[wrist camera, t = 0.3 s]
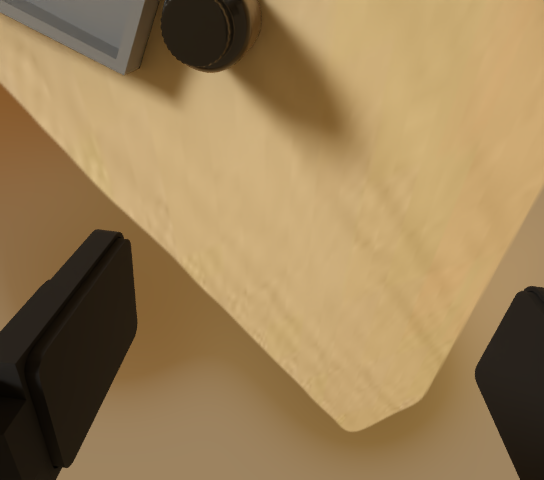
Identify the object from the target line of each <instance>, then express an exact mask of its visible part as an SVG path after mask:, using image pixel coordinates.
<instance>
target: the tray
mask: <svg viewBox="0 0 544 480" xmlns="http://www.w3.org/2000/svg"><path fill="white" fill-rule="evenodd" d="M158 4H159V0H0V12H1V13H2V14H4V15H6V16H8V17H10V18H12V19H14V20H16V21H18V22H20V23H22V24H24V25H26V26H28V27H30V28H32V29H34V30H36V31H38V32H40V33H42V34H44V35H46V36H48V37H50V38H52V39H53V40H55V41H57V42H59V43H61V44H63V45H65V46H67V47H69V48H71V49H73V50H75V51H77V52H79V53H81V54H83V55H85V56H87V57H89V58H91V59H93V60H95V61H97V62H99V63H101V64H103V65H104V66H106V67H108V68H110V69H112V70H114V71H116V72H118V73H120V74H122V75H126V74H128V73H130V72H132V71H135V70H137V69H139V68H140V65H141V61H142V58H143V54H144V51H145V48H146V44H147V41H148V38H149V34H150V31H151V27H152V24H153V21H154V17H155V14H156V10H157V7H158Z"/></svg>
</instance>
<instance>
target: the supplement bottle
mask: <svg viewBox="0 0 544 480" xmlns="http://www.w3.org/2000/svg"><path fill="white" fill-rule="evenodd" d="M261 20H262V16H261V8H260V4H259V1H258V0H165V2H164V6H163V12H162V18H161V30H162V36H163V38H164V42H165V44H166V45H167V48H168V49H169V50H170V51H171V53H172V55H173V56H175V57H176V58H177V60H180V61H181V62H182V63H183V64H186V65H187V66H189V67H191V68H193V69H195V70H198V71H201V72H207V73H214V72H220V71H224V70H226V69H228V68H230V67H232V66H233V65H234V64H236V63H237V62H238V61H239V60H240V59H241V58H242V57H243V56H244V54H245V53H246V52H247V51H248V50H249V49H250V48H251V47H252V45H253V44H254V43H255V41H256V39H257V37H258V35H259V32H260V28H261Z"/></svg>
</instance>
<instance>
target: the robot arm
mask: <svg viewBox="0 0 544 480" xmlns="http://www.w3.org/2000/svg"><path fill="white" fill-rule="evenodd" d="M135 302H136V301H135V289H134V277H133V265H132V253H131V243H130V241H129V240H128V239H124V237H123V235H122V233H120V232H114V231H106V230H99V229H98V230H94V231H93V232H92V234H90V236H89V237H88V238H87V239H86V240H85V241H84V242H83V244H82V245H81V246H80V247H79V248H78V249H77V250H76V251H75V253H74V254H73V255H72V256H71V257H70V258H69V259H68V260H67V262H66V263H65V264H64V265H63V266H62V267H61V268H60V270H59V271H58V272H57V273H56V274H55V275H54V277H52V279H51V280H48V281H46V282H45V283H44V284H43V285H42V286H41V287H40V288H39V289H38V290H37V291H36V292H35V294H34V295H33V296H32V297H31V298H30V299H29V300H28V301H27V302H26V304H25V305H24V306H23V307H22V308H21V309H20V310H19V311H18V313H17V314H16V315H15V316H14V317H13V318H12V319H11V320H10V321H9V323H8V324H7V325H6V326H5V327H4V328H3V329H2V331H0V480H56V478H57V476H58V474H59V473H60V471H61V469H62V467H65V468H68V467H69V466H70V465H71V464H72V463H73V461H74V459H75V457H76V455H77V453H78V451H79V449H80V447H81V445H82V443H83V441H84V439H85V437H86V435H87V433H88V431H89V429H90V427H91V425H92V423H93V421H94V418H95V416H96V414H97V412H98V410H99V408H100V406H101V404H102V402H103V400H104V398H105V396H106V394H107V392H108V390H109V388H110V386H111V384H112V382H113V380H114V378H115V376H116V374H117V371H118V370H119V368H120V365H121V364H122V361H123V359H124V357H125V355H126V353H127V351H128V349H129V347H130V345H131V343H132V341H133V339H134V337H135V334H136V330H137V314H136V313H137V312H136V303H135ZM475 379H476V382H477V385H478V387H479V389H480V391H481V394H482V395H483V398H484V400H485V403H486V405H487V407H488V409H489V411H490V414H491V416H492V418H493V420H494V423H495V425H496V427H497V429H498V431H499V434H500V436H501V438H502V440H503V443H504V445H505V447H506V449H507V451H508V454H509V456H510V458H511V460H512V463H513V465H514V467H515V469H516V471H517V474H518V476H519V478H520V480H544V288H542V287H535V286H530V287H527V288H526V289H524V291H521V292H518V293H517V294H516V296H515V298H514V299H513V301H512V303H511V305H510V307H509V308H508V310H507V312H506V314H505V316H504V317H503V319H502V321H501V323H500V325H499V326H498V328H497V330H496V332H495V334H494V336H493V337H492V339H491V341H490V343H489V345H488V346H487V348H486V350H485V352H484V354H483V355H482V357H481V359H480V361H479V362H478V364H477V366H476V369H475Z"/></svg>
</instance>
